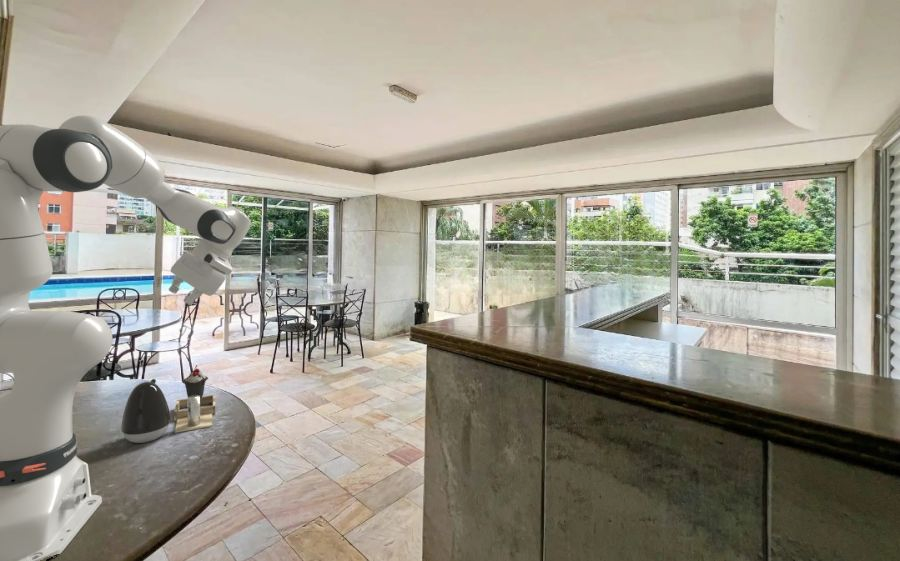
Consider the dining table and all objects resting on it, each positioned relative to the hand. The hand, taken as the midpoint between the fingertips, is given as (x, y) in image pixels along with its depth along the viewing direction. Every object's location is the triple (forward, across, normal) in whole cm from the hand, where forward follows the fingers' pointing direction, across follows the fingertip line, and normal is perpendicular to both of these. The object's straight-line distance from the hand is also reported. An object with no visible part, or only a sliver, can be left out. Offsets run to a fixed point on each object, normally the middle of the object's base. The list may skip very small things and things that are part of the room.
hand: (179, 297), depth 110 cm
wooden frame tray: (+29, +10, +20) cm, 36 cm away
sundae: (+29, +5, +23) cm, 37 cm away
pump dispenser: (+35, +13, +8) cm, 38 cm away
